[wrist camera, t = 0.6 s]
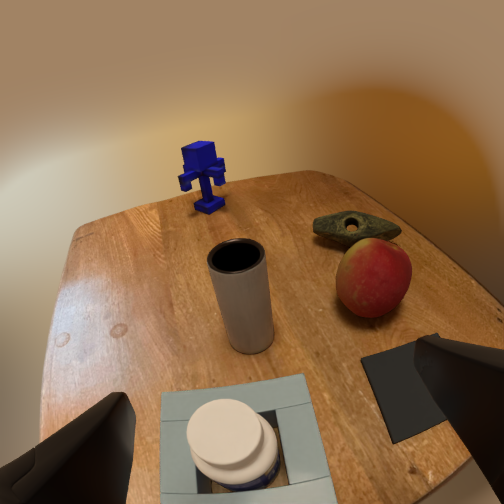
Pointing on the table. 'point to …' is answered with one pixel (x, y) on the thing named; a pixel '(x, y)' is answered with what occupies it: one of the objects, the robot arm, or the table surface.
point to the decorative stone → (366, 225)
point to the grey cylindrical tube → (243, 293)
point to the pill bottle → (233, 445)
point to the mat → (401, 392)
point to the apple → (373, 277)
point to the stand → (277, 415)
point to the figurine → (203, 174)
